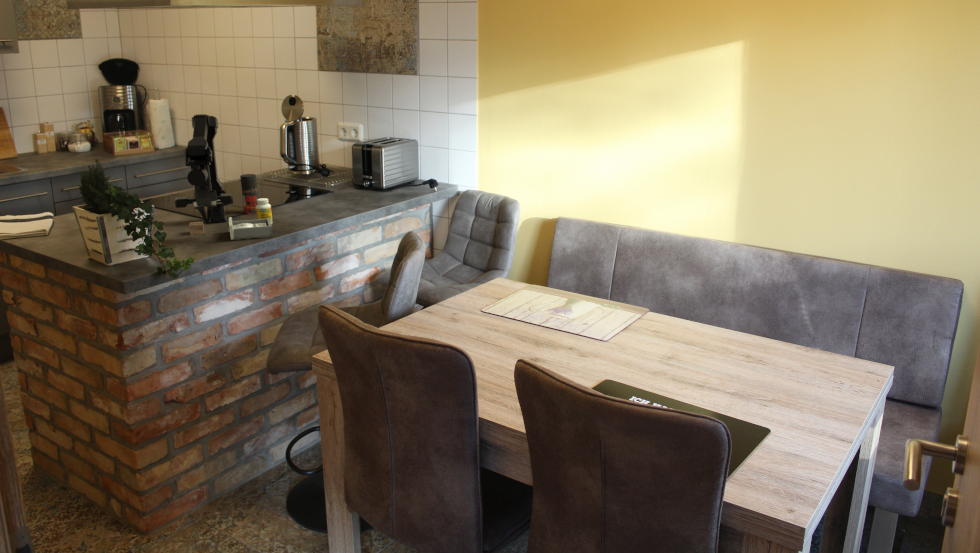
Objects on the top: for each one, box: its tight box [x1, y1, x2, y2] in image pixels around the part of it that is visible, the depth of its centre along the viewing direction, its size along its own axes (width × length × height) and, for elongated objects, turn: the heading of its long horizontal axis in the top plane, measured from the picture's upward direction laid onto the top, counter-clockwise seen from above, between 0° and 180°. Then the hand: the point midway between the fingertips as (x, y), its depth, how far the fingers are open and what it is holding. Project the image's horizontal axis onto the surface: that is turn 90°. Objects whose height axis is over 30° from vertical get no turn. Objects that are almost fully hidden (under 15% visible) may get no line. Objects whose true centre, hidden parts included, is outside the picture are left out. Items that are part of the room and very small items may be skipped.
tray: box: [227, 216, 267, 240], centre depth 260 cm, size 12×13×5 cm
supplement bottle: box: [256, 197, 274, 225], centre depth 274 cm, size 5×5×10 cm
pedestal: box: [188, 221, 205, 236], centre depth 263 cm, size 4×4×4 cm
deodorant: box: [240, 173, 259, 215], centre depth 291 cm, size 6×6×15 cm
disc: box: [235, 223, 253, 229], centre depth 260 cm, size 6×6×2 cm
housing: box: [232, 218, 274, 241], centre depth 261 cm, size 12×13×4 cm
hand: (207, 224), depth 256 cm, fingers closed
